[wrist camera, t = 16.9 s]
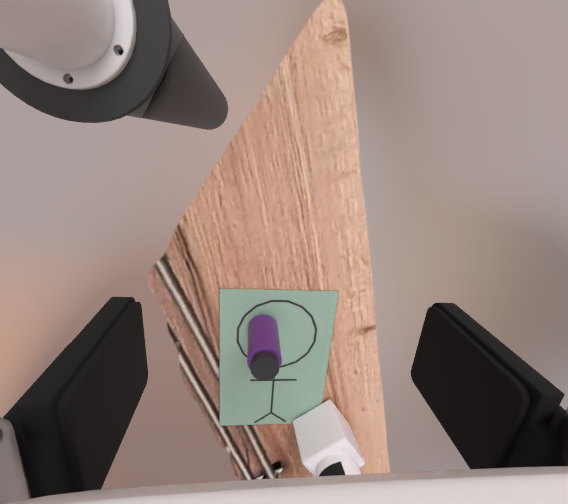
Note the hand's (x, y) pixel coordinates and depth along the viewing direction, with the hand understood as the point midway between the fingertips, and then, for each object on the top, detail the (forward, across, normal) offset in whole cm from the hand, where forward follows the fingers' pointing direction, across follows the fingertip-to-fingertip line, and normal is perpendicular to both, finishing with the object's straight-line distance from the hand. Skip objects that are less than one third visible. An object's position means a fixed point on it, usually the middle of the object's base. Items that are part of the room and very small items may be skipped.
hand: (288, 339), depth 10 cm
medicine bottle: (+28, -11, +36) cm, 47 cm away
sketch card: (+28, -3, +25) cm, 38 cm away
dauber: (+28, -1, +18) cm, 33 cm away
